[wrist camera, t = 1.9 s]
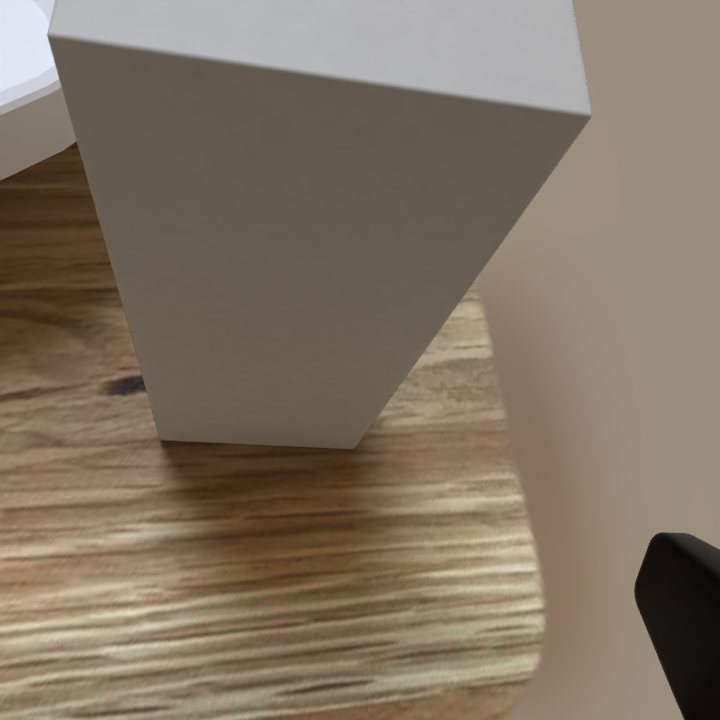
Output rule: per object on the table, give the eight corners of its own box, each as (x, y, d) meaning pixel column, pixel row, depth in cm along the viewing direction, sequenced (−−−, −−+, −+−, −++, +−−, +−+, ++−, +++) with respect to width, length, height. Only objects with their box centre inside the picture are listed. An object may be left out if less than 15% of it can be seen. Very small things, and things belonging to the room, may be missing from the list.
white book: (354, 450, 21) (594, 115, 8) (159, 440, 20) (44, 34, 7) (354, 376, 22) (568, -34, 9) (168, 364, 21) (82, -126, 8)
